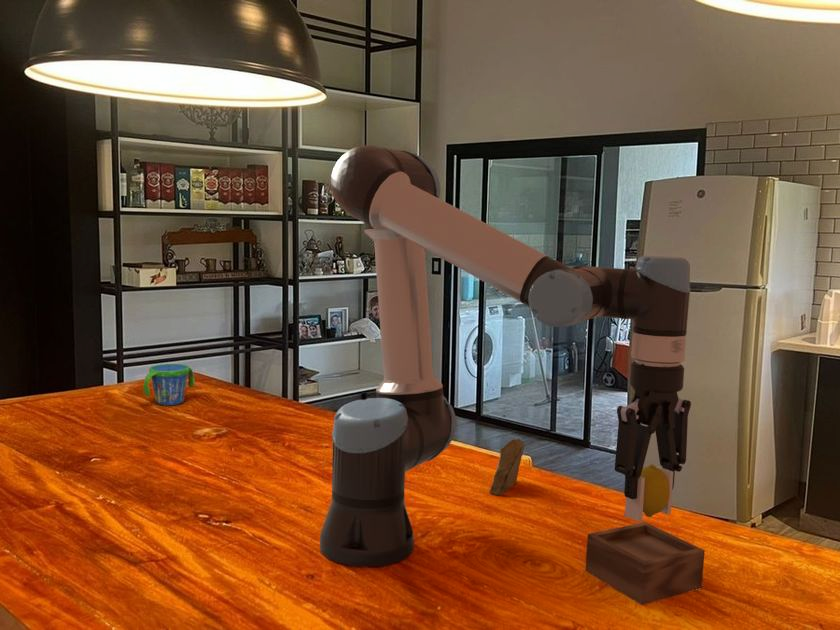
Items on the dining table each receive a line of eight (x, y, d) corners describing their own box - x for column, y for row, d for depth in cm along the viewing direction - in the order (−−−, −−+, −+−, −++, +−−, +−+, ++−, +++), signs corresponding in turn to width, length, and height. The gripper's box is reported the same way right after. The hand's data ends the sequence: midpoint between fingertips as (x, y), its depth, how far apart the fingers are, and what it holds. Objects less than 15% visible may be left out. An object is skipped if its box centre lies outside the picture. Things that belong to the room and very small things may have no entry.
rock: (506, 490, 150) (542, 474, 156) (485, 450, 153) (521, 435, 159) (477, 508, 158) (512, 492, 164) (457, 469, 161) (492, 455, 167)
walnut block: (641, 606, 111) (644, 565, 111) (585, 572, 122) (587, 534, 121) (701, 590, 117) (704, 550, 116) (642, 558, 128) (645, 522, 127)
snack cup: (154, 411, 210) (153, 373, 209) (133, 404, 217) (133, 367, 216) (204, 402, 222) (204, 366, 221) (184, 395, 229) (184, 361, 227)
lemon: (639, 507, 122) (642, 457, 121) (674, 516, 118) (677, 464, 118) (623, 517, 118) (626, 464, 117) (659, 526, 114) (662, 472, 113)
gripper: (633, 371, 107) (623, 535, 110) (719, 361, 117) (708, 511, 120) (593, 362, 114) (584, 517, 116) (678, 353, 124) (669, 496, 126)
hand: (647, 514), depth 118 cm, fingers closed on lemon, 5 cm apart
